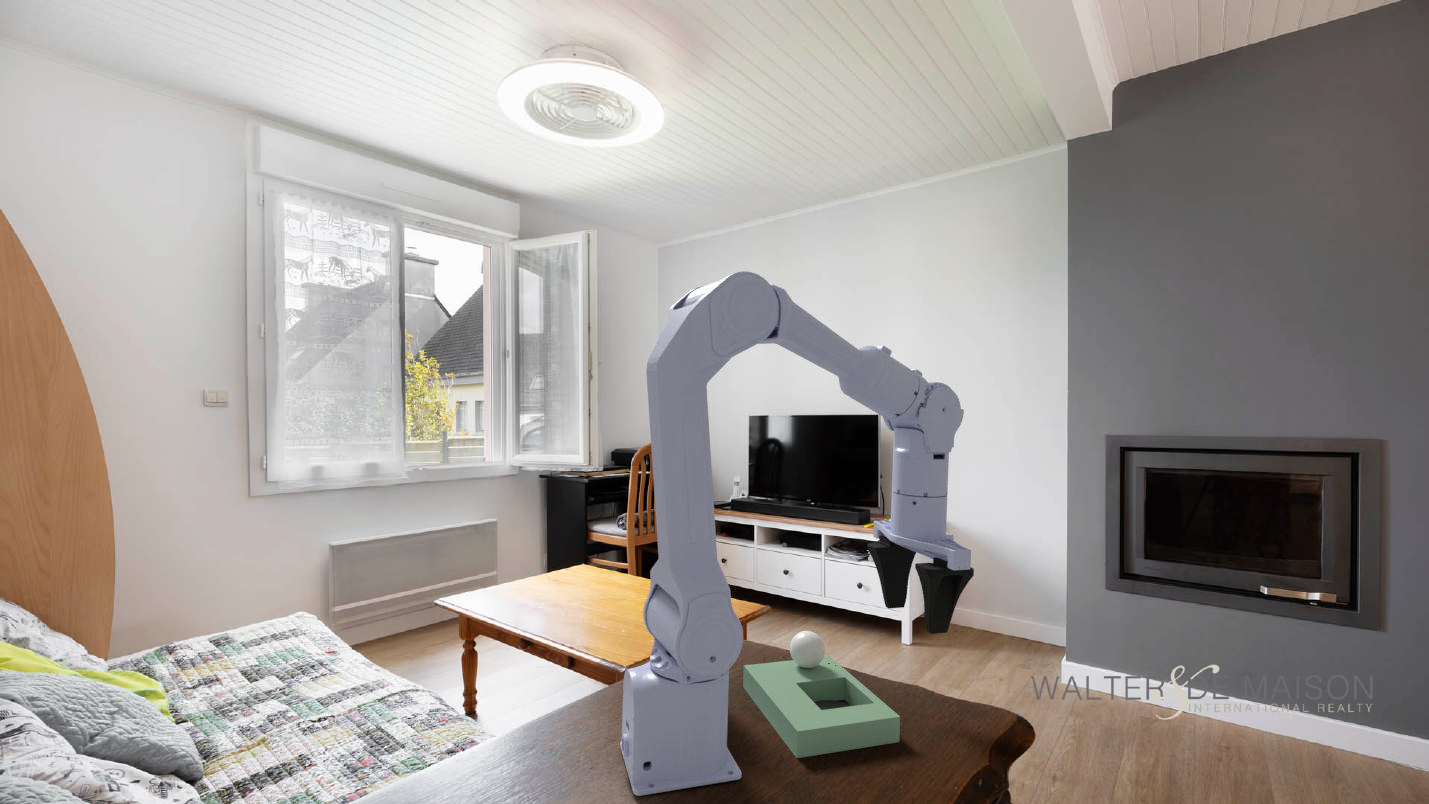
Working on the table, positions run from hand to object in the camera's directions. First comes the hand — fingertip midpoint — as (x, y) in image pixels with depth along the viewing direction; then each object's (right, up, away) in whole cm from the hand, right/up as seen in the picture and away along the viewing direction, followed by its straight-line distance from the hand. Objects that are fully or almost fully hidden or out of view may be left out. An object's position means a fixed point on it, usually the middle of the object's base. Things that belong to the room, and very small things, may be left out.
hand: (914, 619), depth 67 cm
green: (-11, -10, -1) cm, 15 cm away
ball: (-11, -5, +4) cm, 13 cm away
